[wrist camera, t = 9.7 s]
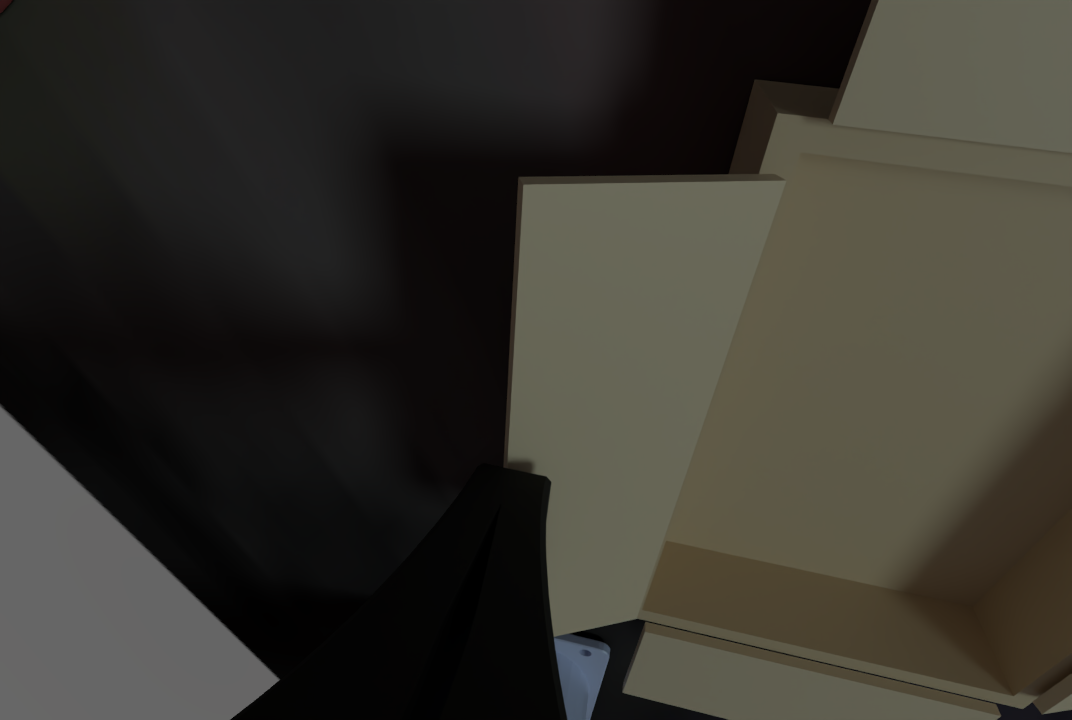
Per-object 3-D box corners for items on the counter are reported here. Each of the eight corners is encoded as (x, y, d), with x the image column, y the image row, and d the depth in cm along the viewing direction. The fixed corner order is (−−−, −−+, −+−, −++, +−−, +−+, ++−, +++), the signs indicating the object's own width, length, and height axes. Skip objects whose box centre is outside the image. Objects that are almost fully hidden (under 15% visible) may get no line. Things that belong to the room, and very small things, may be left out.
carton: (611, 596, 21) (601, 687, 18) (837, -222, 8) (917, -312, 5) (914, 666, 20) (951, 775, 17) (1775, -179, 7) (2488, -272, 4)
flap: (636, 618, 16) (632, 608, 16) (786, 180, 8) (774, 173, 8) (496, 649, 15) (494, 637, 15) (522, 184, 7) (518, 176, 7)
